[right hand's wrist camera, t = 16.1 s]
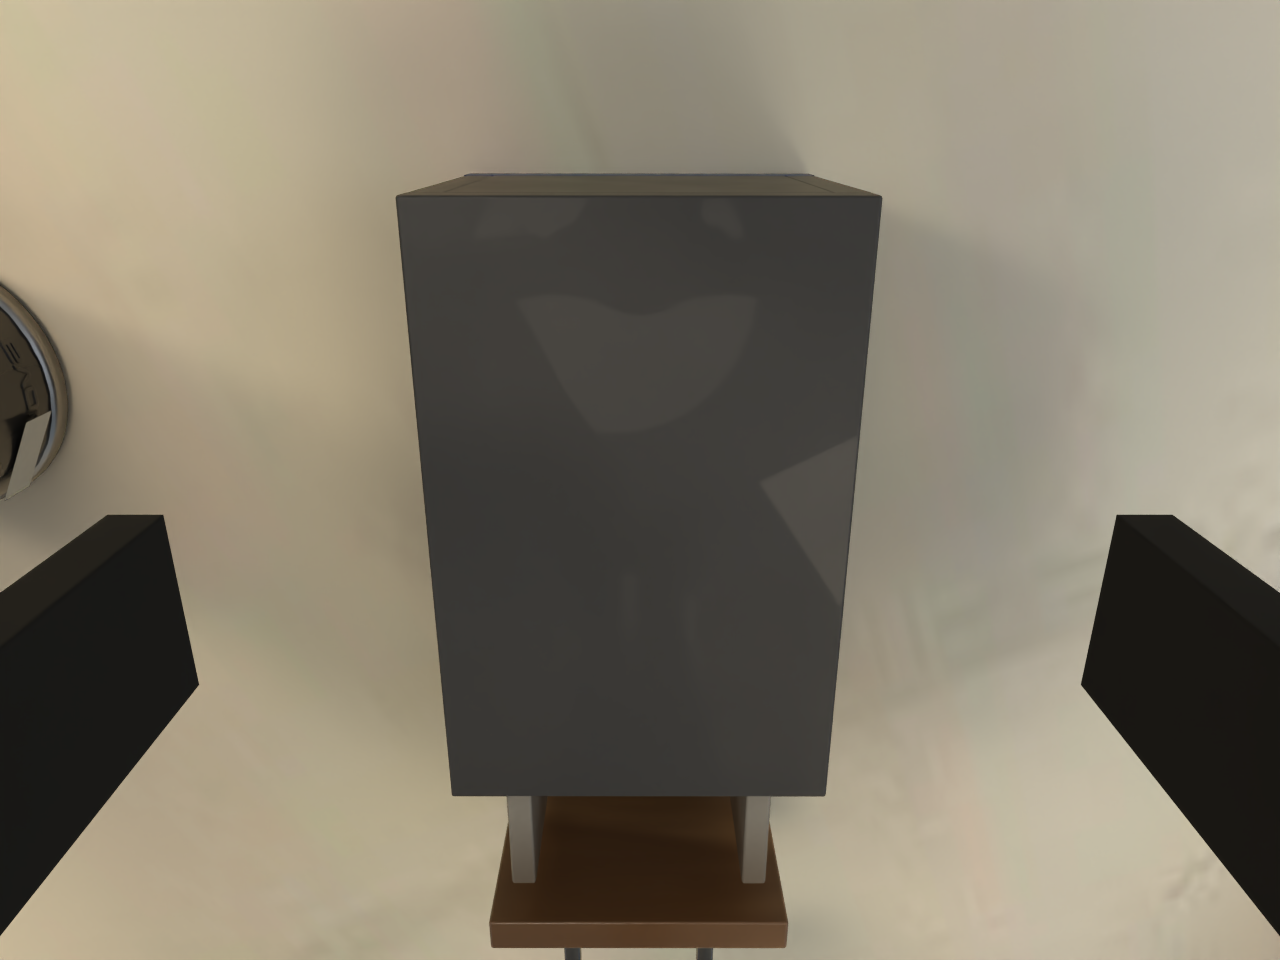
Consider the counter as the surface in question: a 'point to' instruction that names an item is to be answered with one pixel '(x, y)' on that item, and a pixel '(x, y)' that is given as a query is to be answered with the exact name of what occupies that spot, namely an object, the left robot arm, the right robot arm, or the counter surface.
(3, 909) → the right robot arm
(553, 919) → the drawer
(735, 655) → the cabinet
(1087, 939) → the counter surface
